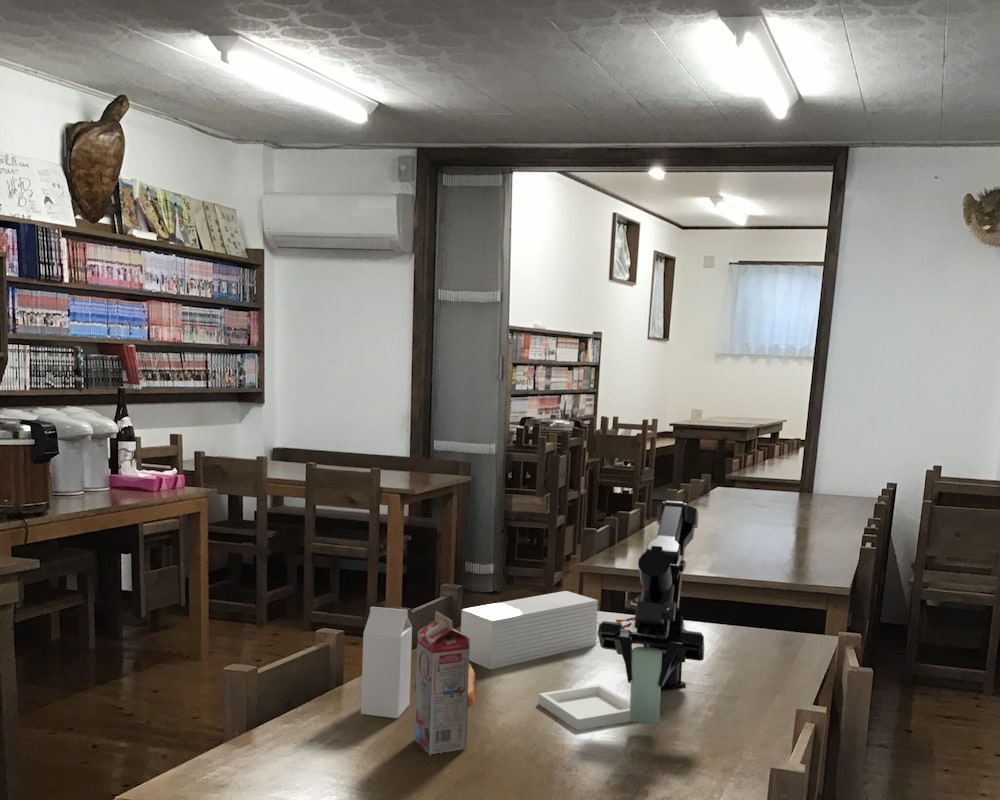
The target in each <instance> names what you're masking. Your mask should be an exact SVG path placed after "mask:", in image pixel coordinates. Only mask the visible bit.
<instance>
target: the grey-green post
mask: <svg viewBox="0 0 1000 800" xmlns="http://www.w3.org/2000/svg"><path fill="white" fill-rule="evenodd" d="M661 670H662V651H661V650H659V649H656V648H652V647H644V646H637V647H634V648H632V673H631V683H630V698H629V699H630V700H629V701H630V719H631V720H633V721H632V722H634V723H638V724H643V725H654V724H657V723H659V721H660V714H661V713H660V712H661V711H660V710H661V694H662V693H661V692H662V690H661V687H660V676H661Z"/></svg>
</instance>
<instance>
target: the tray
mask: <svg viewBox="0 0 1000 800" xmlns="http://www.w3.org/2000/svg"><path fill="white" fill-rule="evenodd" d="M537 703H538V705H539V706H541V707H542V708H544V709H545V710H547V711H548V712H550V713H551V714H552V715H554V716H556V717H557V718H558V719H560V720H561V721H563V722H564V723H565V724H568V726H570V727H572V728H573V729H575V730H576V731H583V730H589V729H595V728H601V727H605V726H611V725H617V724H622V723H629V722H634V721H633V720H631V719H630V700H628V699H627V698H625V697H623V696H621V695H619V694H618V693H616V692H614V691H613V690H612V689H610V688H607V687H606V686H604V685H603V684H600V683H599V684H594V685H593V684H592V685H587V686H580V687H579V686H578V687H573V688H567V689H560V690H554V691H553V690H552V691H547V692H541V693H540V692H539V693H538V702H537Z"/></svg>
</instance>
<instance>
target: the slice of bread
mask: <svg viewBox="0 0 1000 800" xmlns="http://www.w3.org/2000/svg"><path fill="white" fill-rule="evenodd" d="M476 699H477V679H476V672H475V670H474V669H473V667H472V664H471V663H469V676H468V706H467V708H469V706H470V707H473V706H474V705H475V702H476Z"/></svg>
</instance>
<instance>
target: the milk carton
mask: <svg viewBox="0 0 1000 800" xmlns="http://www.w3.org/2000/svg"><path fill="white" fill-rule="evenodd" d="M369 610H370V611H369V615H368V618H367V622H366V624H365V628H364V630H363V637H362V639H363V640H362V643H363V644H362V665H361V666H362V670H361V674H362V675H361V676H362V677H361V698H360V699H361V705H360V715H364V714H365V715H364V716H374V717H380V718H381V717H383V718H389V719H390V718H391V719H399V718H400V716H401V715H402V714H403V713H404V711H405V710H406V709H407V708H408V707H409V705H410V700H411V698H410V697H411V676H412V675H411V671H412V670H411V669H412V668H411V666H412V665H411V664H412V643H413V642H412V639H413V636H412V635H413V625H412V623H411V621H410V619H409V616H408V609H402V608H401V609H399V608H389V607H380V606H377V607H376V606H370V609H369Z"/></svg>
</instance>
